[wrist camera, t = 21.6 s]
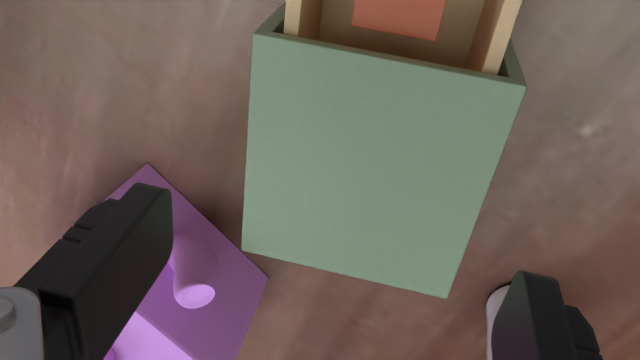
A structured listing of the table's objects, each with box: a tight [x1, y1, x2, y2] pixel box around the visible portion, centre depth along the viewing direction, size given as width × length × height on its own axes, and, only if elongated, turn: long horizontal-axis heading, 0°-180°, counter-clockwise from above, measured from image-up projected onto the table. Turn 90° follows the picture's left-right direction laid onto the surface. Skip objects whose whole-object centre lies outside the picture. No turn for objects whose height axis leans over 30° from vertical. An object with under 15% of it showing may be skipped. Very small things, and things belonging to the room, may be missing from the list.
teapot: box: [61, 163, 269, 360], centre depth 43 cm, size 15×25×14 cm, turn 132°
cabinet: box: [241, 2, 527, 299], centre depth 33 cm, size 15×14×10 cm
